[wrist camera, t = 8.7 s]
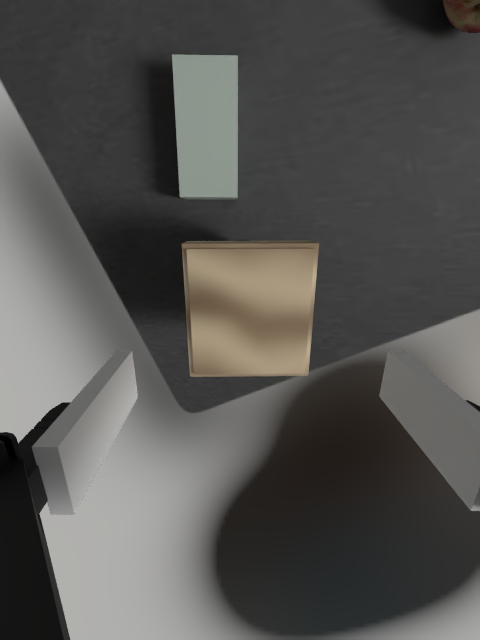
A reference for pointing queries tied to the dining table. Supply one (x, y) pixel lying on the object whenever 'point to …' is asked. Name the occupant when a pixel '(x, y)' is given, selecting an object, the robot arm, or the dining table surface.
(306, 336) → the lid
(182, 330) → the dining table surface
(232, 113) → the sage green box base
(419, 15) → the dining table surface
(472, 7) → the fruit
